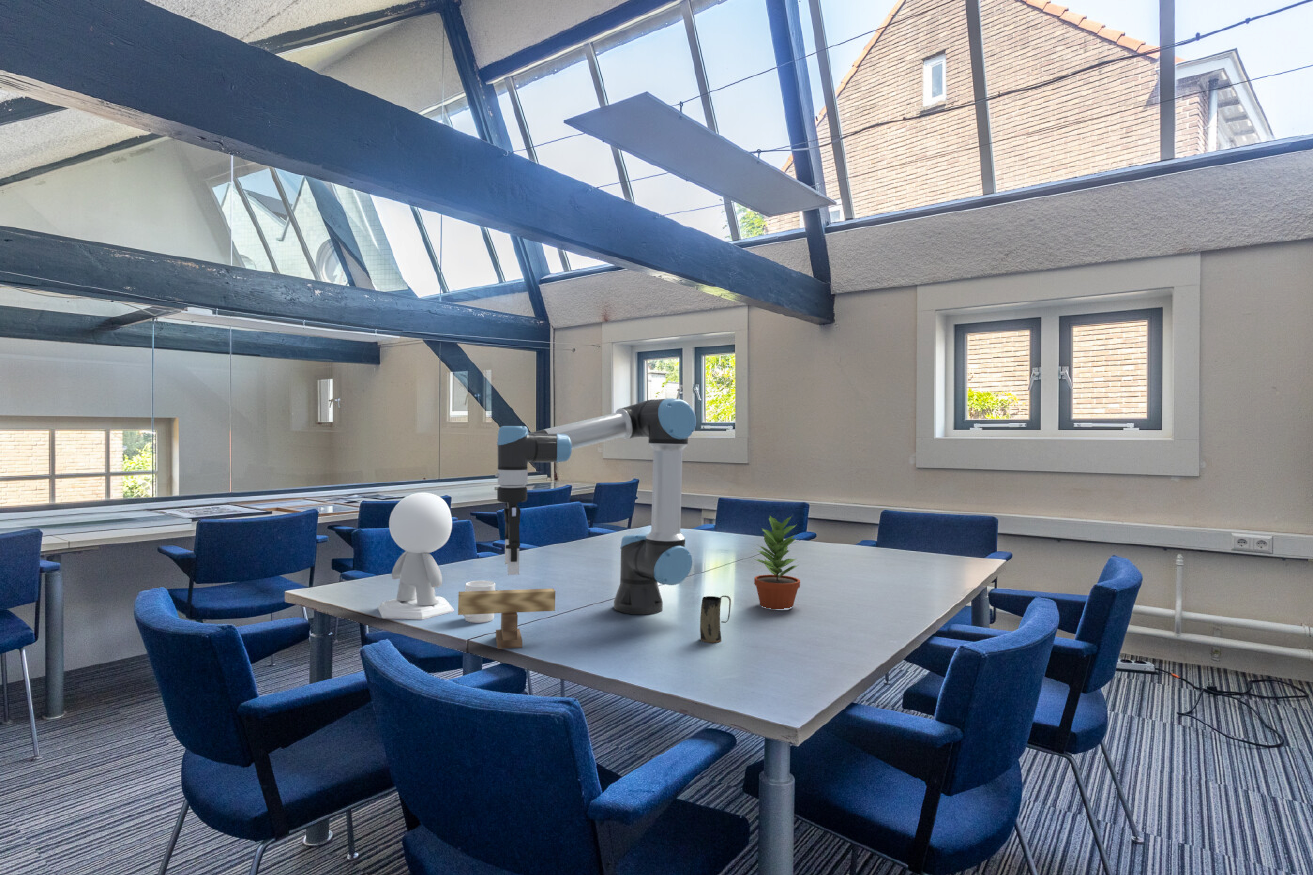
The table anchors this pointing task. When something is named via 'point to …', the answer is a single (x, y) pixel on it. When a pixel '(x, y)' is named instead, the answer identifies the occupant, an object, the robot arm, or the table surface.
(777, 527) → the potted plant
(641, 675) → the table surface
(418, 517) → the big headed doll
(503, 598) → the oak bar
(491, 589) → the mug
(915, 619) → the table surface
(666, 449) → the robot arm
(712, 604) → the mug
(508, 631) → the fulcrum
